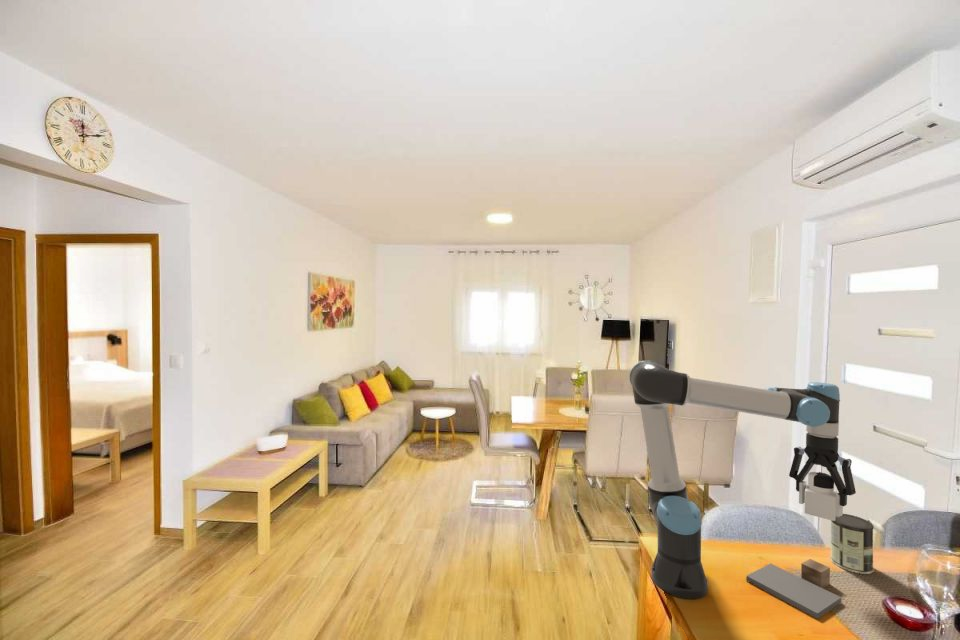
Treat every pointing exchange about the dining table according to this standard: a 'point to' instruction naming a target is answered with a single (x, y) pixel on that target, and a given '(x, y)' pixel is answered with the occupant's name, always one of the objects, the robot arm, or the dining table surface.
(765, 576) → the charcoal serving board
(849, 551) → the coffee can
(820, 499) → the medicine bottle
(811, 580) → the walnut block
